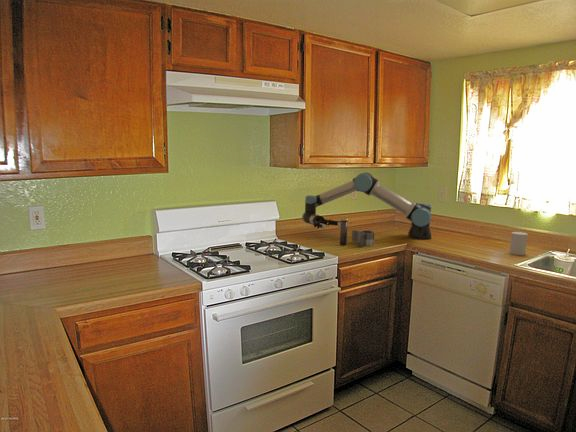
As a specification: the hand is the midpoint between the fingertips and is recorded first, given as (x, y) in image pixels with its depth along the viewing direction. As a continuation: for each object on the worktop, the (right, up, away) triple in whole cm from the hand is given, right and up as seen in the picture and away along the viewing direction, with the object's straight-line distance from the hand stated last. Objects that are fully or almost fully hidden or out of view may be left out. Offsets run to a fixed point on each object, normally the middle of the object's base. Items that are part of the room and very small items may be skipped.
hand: (334, 226), depth 263 cm
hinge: (+15, -11, -6) cm, 20 cm away
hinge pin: (+4, -11, -7) cm, 14 cm away
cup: (+104, -15, -18) cm, 107 cm away
